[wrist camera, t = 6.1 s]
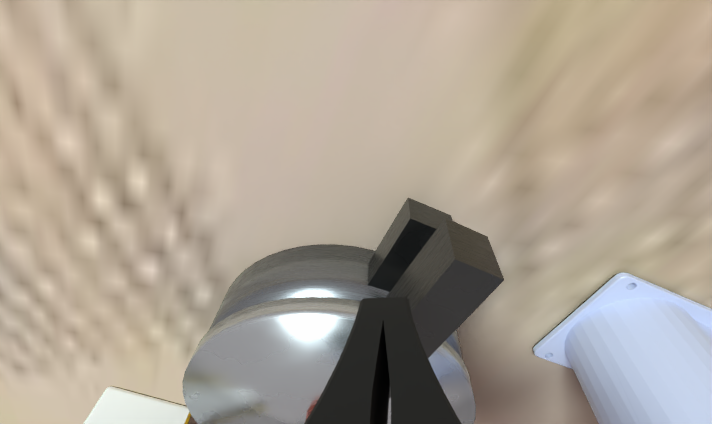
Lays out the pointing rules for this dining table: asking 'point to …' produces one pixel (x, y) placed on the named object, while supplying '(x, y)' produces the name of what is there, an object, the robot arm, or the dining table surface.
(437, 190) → the dining table surface
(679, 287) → the dining table surface
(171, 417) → the medicine bottle
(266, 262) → the cooker pot
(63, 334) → the dining table surface
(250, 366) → the cooker lid
